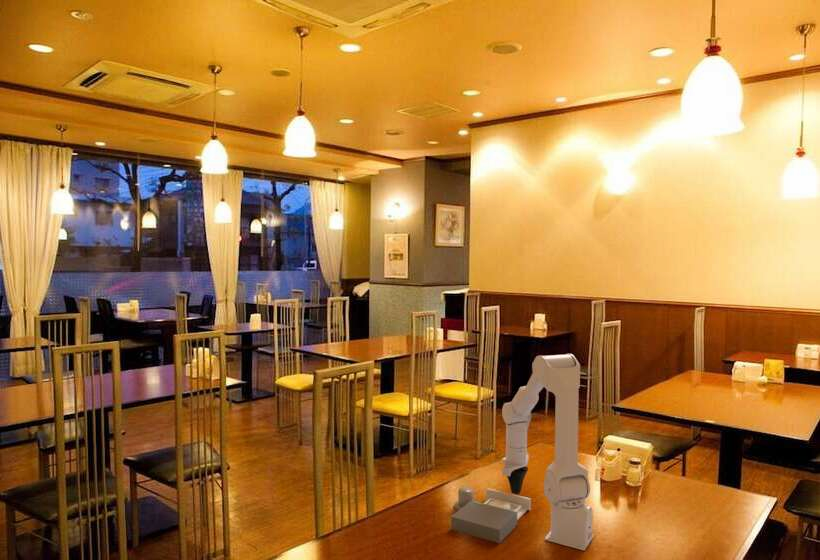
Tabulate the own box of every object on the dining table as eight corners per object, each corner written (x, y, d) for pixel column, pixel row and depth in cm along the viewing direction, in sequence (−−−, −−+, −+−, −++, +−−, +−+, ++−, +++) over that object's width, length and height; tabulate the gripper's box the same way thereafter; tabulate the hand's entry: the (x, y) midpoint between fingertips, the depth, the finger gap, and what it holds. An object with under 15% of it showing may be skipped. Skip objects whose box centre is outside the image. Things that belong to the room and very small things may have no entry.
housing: (517, 525, 145) (517, 511, 145) (499, 543, 136) (499, 529, 136) (470, 512, 152) (470, 500, 152) (451, 529, 143) (451, 516, 143)
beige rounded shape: (514, 509, 153) (514, 503, 153) (503, 517, 148) (503, 511, 148) (496, 504, 156) (496, 498, 156) (484, 511, 152) (484, 505, 152)
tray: (530, 510, 154) (530, 498, 154) (514, 526, 145) (515, 514, 145) (487, 499, 161) (487, 488, 161) (469, 514, 151) (469, 502, 151)
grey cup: (480, 505, 157) (480, 488, 157) (470, 513, 152) (470, 496, 152) (460, 500, 160) (460, 484, 160) (450, 508, 155) (450, 491, 155)
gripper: (512, 435, 169) (512, 481, 170) (492, 450, 157) (492, 498, 158) (535, 440, 166) (535, 486, 166) (516, 454, 153) (516, 504, 154)
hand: (515, 493), depth 162 cm, fingers closed
